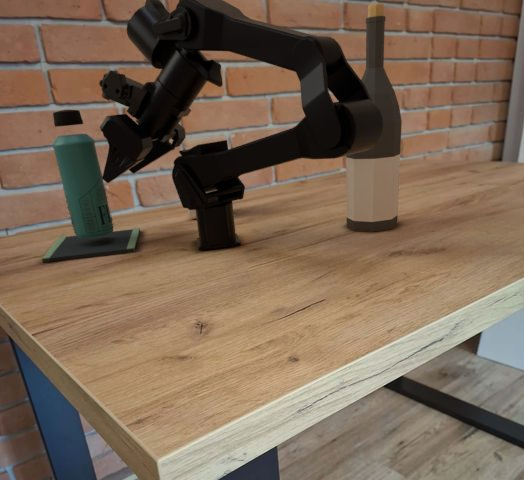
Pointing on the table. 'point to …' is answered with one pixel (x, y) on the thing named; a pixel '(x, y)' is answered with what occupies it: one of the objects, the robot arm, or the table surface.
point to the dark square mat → (93, 246)
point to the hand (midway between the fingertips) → (118, 175)
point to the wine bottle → (387, 149)
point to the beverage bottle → (81, 179)
